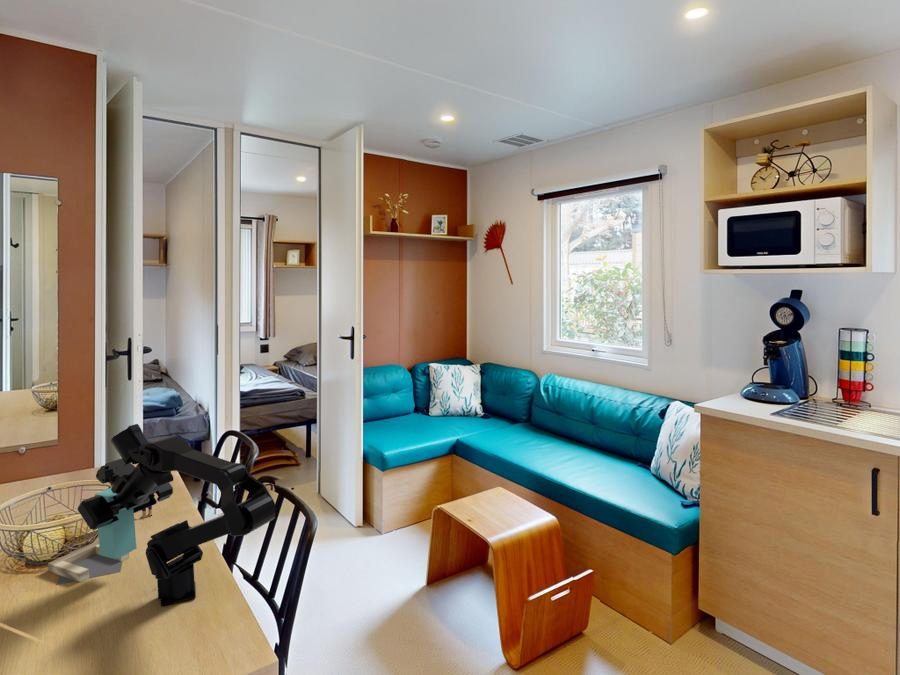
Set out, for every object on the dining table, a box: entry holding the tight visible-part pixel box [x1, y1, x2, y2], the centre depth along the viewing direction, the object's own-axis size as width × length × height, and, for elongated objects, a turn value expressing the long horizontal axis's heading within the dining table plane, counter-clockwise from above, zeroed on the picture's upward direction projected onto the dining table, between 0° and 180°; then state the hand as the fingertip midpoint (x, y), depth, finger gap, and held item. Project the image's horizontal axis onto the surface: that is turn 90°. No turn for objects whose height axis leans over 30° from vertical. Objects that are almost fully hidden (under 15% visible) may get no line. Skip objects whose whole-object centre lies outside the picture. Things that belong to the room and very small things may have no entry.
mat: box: [55, 554, 123, 586], centre depth 125 cm, size 12×12×1 cm
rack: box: [47, 540, 130, 583], centre depth 126 cm, size 11×12×2 cm
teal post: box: [94, 487, 137, 559], centre depth 120 cm, size 5×5×14 cm
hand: (112, 520), depth 121 cm, fingers closed on teal post, 5 cm apart
